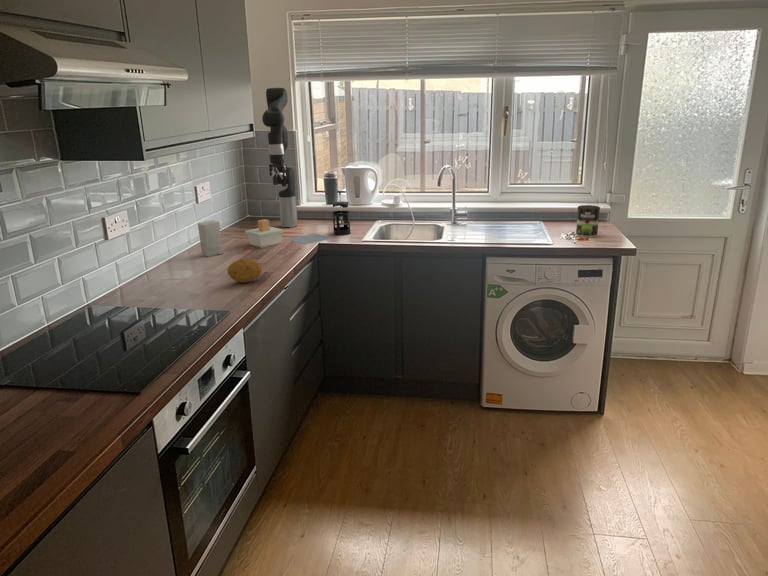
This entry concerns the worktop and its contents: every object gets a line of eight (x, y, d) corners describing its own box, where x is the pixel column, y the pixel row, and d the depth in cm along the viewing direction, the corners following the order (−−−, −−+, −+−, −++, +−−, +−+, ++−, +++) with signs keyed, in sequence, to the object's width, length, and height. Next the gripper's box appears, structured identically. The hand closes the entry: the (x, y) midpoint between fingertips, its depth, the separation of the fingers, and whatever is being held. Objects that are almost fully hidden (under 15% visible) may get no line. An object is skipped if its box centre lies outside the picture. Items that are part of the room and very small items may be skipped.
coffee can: (597, 237, 278) (599, 209, 274) (574, 236, 282) (576, 208, 278) (598, 233, 287) (600, 205, 283) (576, 232, 291) (578, 204, 287)
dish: (249, 244, 289) (248, 233, 287) (270, 240, 296) (269, 229, 295) (261, 248, 280) (260, 236, 279) (282, 244, 288) (281, 232, 286)
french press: (346, 237, 298) (343, 192, 291) (329, 236, 302) (327, 192, 295) (354, 232, 309) (352, 189, 302) (338, 231, 312) (336, 189, 305)
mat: (285, 240, 297) (285, 239, 296) (314, 234, 308) (314, 233, 308) (304, 245, 284) (304, 244, 283) (334, 239, 295) (334, 238, 295)
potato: (226, 281, 228) (223, 258, 225) (259, 276, 233) (257, 254, 231) (231, 287, 220) (228, 264, 217) (265, 282, 225) (263, 259, 222)
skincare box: (217, 251, 277) (213, 219, 272) (224, 253, 272) (220, 221, 268) (201, 255, 271) (196, 222, 267) (208, 257, 267) (203, 224, 262)
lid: (245, 233, 287) (243, 220, 285) (269, 228, 296) (268, 216, 294) (259, 237, 277) (258, 224, 275) (284, 232, 286) (283, 219, 284)
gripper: (263, 153, 291) (266, 185, 296) (277, 154, 281) (280, 187, 286) (275, 151, 296) (278, 183, 301) (290, 153, 285) (293, 185, 291)
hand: (279, 185), depth 293 cm, fingers open, 8 cm apart
